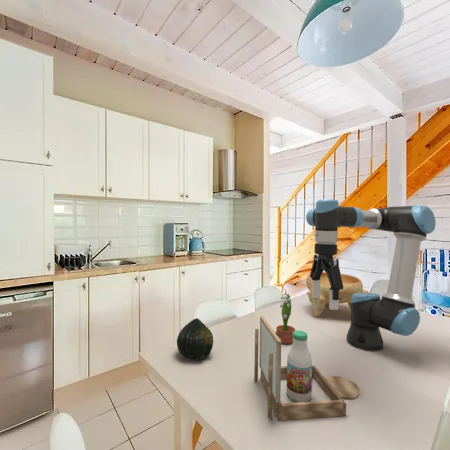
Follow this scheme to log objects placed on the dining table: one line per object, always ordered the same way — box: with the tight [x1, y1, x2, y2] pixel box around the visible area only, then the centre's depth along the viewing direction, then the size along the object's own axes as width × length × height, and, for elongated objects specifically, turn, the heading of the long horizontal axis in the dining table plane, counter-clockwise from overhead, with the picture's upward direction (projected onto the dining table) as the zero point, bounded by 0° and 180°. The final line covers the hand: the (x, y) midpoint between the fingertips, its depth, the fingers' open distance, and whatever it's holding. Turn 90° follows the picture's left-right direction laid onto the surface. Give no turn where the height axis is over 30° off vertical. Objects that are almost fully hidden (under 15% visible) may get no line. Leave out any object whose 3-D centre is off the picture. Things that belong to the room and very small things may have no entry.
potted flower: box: [274, 288, 296, 345], centre depth 123 cm, size 12×10×25 cm
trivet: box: [324, 375, 361, 400], centre depth 89 cm, size 11×11×1 cm
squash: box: [176, 317, 214, 361], centre depth 110 cm, size 14×15×15 cm
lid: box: [258, 315, 282, 405], centre depth 84 cm, size 1×20×18 cm, turn 7°
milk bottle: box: [286, 330, 313, 403], centre depth 85 cm, size 8×8×20 cm
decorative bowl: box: [305, 271, 370, 318], centre depth 164 cm, size 34×35×23 cm
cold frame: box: [260, 364, 347, 421], centre depth 85 cm, size 20×20×4 cm
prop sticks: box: [253, 328, 273, 419], centre depth 83 cm, size 1×18×18 cm, turn 6°
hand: (324, 303), depth 94 cm, fingers open, 13 cm apart
